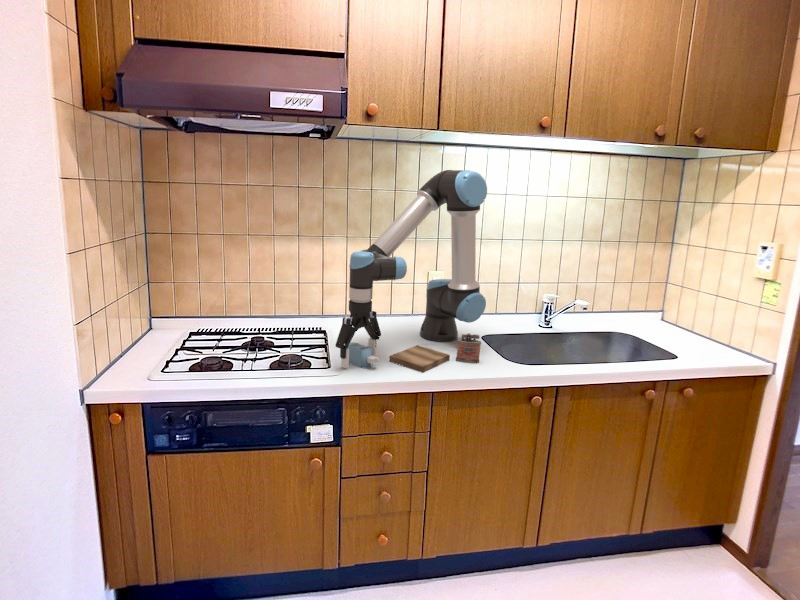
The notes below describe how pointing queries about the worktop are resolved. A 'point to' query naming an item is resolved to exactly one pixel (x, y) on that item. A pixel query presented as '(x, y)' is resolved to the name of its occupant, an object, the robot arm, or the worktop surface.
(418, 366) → the walnut board
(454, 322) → the robot arm
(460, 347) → the lighter
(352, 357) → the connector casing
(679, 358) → the worktop surface
